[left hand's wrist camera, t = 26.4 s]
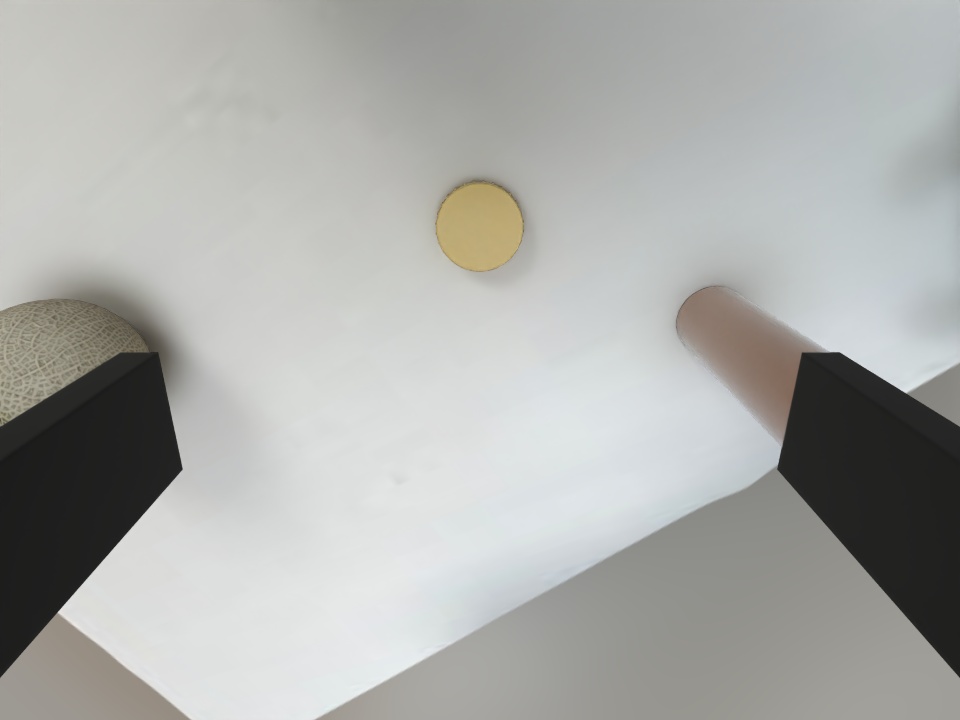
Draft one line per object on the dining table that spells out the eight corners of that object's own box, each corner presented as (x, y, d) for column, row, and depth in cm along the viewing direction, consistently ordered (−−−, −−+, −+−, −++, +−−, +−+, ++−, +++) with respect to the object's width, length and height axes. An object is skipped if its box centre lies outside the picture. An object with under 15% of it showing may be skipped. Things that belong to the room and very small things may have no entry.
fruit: (21, 259, 40) (-223, 328, 26) (192, 306, 41) (45, 396, 27) (19, 394, 44) (-197, 517, 30) (176, 433, 45) (39, 570, 31)
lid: (512, 274, 41) (513, 279, 39) (430, 258, 40) (428, 263, 39) (531, 190, 39) (533, 192, 37) (445, 172, 38) (443, 173, 37)
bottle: (673, 292, 41) (809, 407, 24) (746, 280, 41) (936, 387, 24) (678, 358, 43) (807, 508, 26) (747, 347, 43) (924, 491, 26)
